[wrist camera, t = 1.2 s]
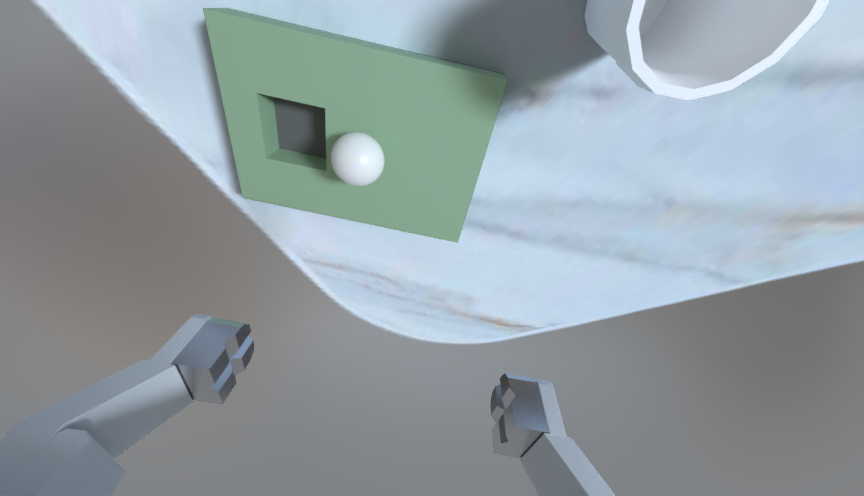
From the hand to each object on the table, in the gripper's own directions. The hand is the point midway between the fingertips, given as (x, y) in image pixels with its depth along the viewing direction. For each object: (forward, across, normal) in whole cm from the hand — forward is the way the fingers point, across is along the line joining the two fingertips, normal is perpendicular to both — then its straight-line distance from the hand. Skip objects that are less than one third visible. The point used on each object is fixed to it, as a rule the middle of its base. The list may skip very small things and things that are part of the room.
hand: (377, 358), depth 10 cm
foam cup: (+28, -13, -13) cm, 34 cm away
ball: (+23, +7, +3) cm, 24 cm away
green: (+29, +8, +3) cm, 30 cm away
